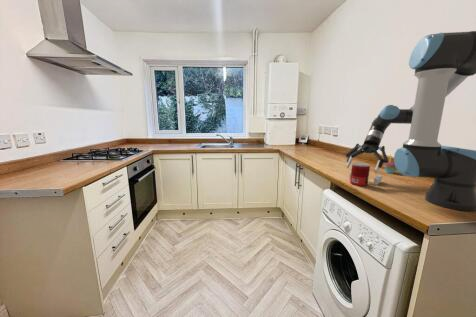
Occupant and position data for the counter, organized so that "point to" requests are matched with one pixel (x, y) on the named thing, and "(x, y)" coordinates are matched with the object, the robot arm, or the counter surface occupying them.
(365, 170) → the canned food
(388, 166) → the cupcake
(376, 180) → the channel
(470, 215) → the counter surface
